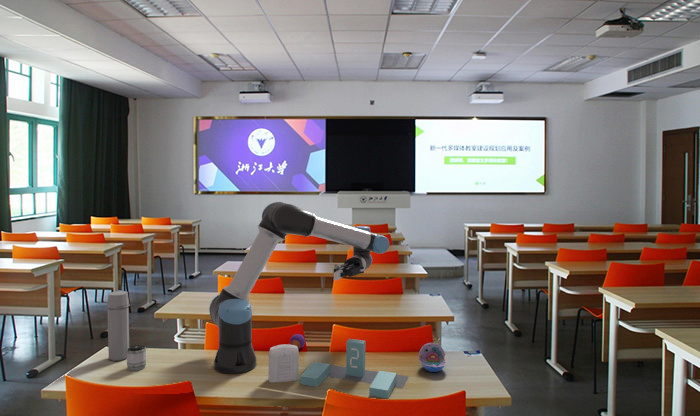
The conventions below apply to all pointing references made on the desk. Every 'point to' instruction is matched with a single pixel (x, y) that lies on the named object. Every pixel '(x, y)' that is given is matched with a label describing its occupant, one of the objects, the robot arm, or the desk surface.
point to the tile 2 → (355, 358)
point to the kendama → (297, 340)
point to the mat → (367, 378)
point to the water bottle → (118, 325)
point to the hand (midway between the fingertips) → (335, 276)
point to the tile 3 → (383, 384)
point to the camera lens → (136, 357)
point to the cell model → (432, 357)
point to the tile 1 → (315, 374)
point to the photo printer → (283, 363)
